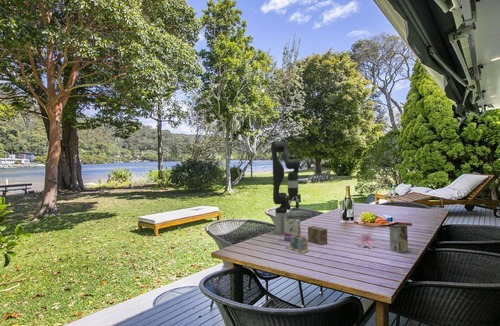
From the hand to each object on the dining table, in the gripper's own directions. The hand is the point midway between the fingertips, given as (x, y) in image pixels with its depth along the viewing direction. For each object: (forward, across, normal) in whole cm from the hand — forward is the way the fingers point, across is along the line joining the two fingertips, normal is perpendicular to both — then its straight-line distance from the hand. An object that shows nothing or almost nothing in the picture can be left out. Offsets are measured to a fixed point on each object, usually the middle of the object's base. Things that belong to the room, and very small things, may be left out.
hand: (293, 209), depth 205 cm
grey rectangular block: (+24, +1, +15) cm, 28 cm away
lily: (+24, -28, +40) cm, 54 cm away
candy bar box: (+24, +1, 0) cm, 24 cm away
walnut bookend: (+22, -9, +15) cm, 28 cm away
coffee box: (+23, -36, +58) cm, 72 cm away
